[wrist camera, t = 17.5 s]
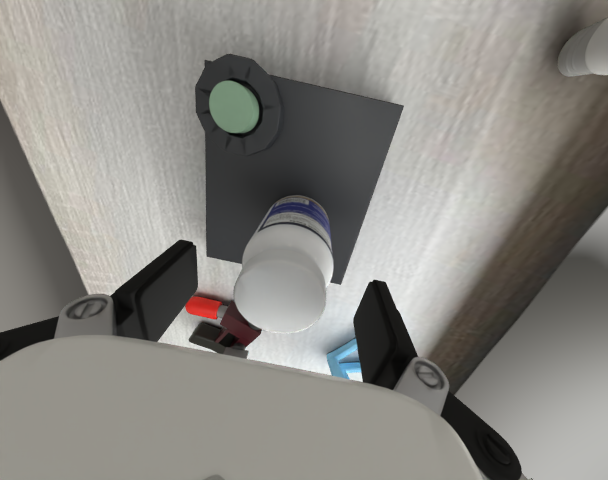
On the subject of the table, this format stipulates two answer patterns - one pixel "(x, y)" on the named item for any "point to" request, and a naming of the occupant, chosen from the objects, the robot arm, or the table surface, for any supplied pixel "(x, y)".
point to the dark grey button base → (291, 157)
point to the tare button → (233, 107)
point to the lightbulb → (586, 51)
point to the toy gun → (232, 334)
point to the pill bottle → (286, 267)
